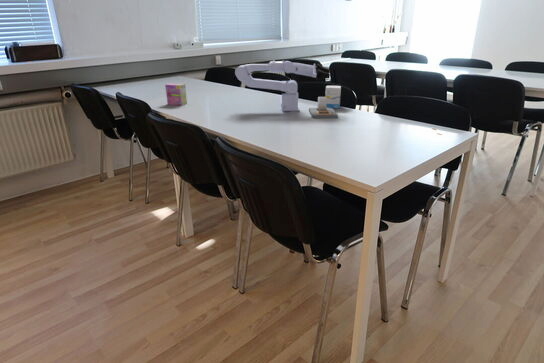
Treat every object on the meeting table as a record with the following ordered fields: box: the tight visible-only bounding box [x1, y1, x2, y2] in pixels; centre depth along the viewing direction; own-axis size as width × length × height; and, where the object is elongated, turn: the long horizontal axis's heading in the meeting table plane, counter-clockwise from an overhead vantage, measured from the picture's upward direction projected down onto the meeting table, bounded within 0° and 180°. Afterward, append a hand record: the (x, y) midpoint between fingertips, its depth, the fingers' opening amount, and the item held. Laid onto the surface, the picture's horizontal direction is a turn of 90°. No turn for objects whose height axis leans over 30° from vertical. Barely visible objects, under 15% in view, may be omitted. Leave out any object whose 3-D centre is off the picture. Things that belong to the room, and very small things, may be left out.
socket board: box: [308, 107, 339, 119], centre depth 200 cm, size 13×18×2 cm
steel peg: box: [317, 96, 326, 111], centre depth 203 cm, size 4×4×8 cm
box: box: [164, 82, 188, 106], centre depth 224 cm, size 10×6×12 cm, turn 68°
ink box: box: [324, 85, 342, 110], centre depth 216 cm, size 8×8×12 cm
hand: (329, 74), depth 203 cm, fingers open, 7 cm apart
